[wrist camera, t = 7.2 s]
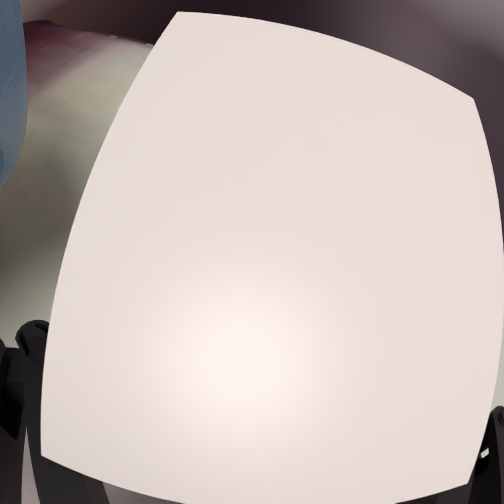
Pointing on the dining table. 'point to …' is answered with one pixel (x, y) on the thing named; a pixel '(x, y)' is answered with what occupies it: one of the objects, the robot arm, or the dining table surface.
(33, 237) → the dining table surface
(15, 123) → the robot arm
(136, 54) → the dining table surface
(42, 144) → the dining table surface
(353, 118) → the cover
